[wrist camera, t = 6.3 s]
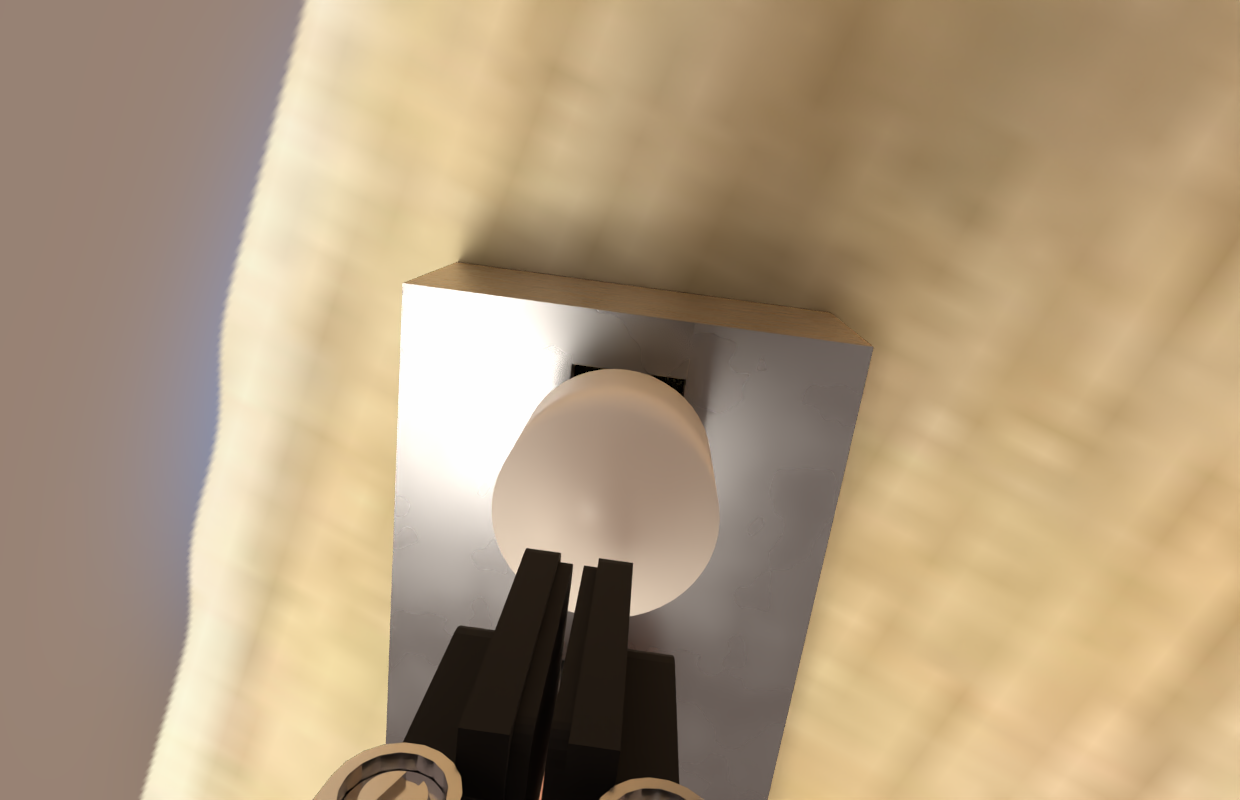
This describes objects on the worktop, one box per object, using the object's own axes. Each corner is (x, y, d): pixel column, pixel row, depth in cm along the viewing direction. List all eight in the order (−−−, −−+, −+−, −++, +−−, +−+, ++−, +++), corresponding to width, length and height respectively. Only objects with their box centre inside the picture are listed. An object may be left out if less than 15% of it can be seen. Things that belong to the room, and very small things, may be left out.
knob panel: (457, 262, 23) (403, 283, 18) (830, 312, 23) (873, 346, 18) (423, 838, 30) (378, 961, 26) (708, 882, 30) (716, 1015, 25)
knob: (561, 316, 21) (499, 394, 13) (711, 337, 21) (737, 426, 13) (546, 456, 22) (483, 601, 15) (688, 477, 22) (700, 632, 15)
